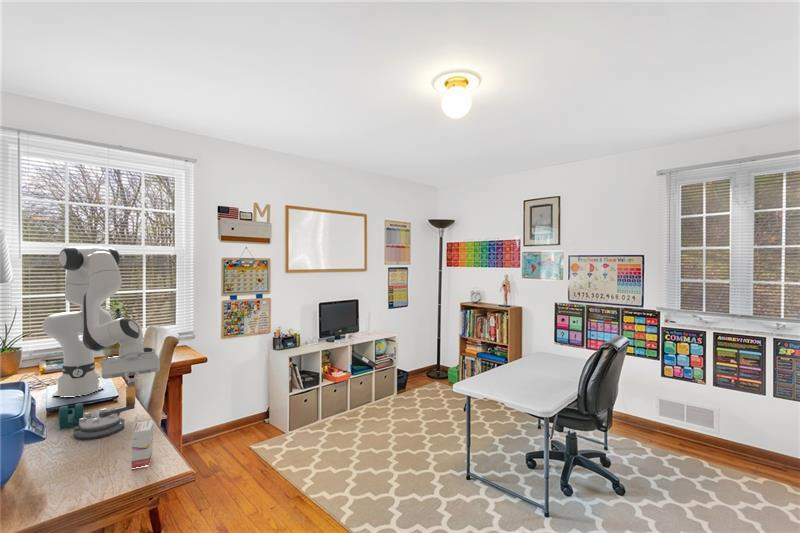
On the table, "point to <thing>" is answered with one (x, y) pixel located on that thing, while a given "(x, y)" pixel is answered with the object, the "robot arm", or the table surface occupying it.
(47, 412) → the table surface
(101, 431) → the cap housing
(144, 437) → the ink cartridge box
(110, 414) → the lugged valve handwheel
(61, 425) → the bracket
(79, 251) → the robot arm
